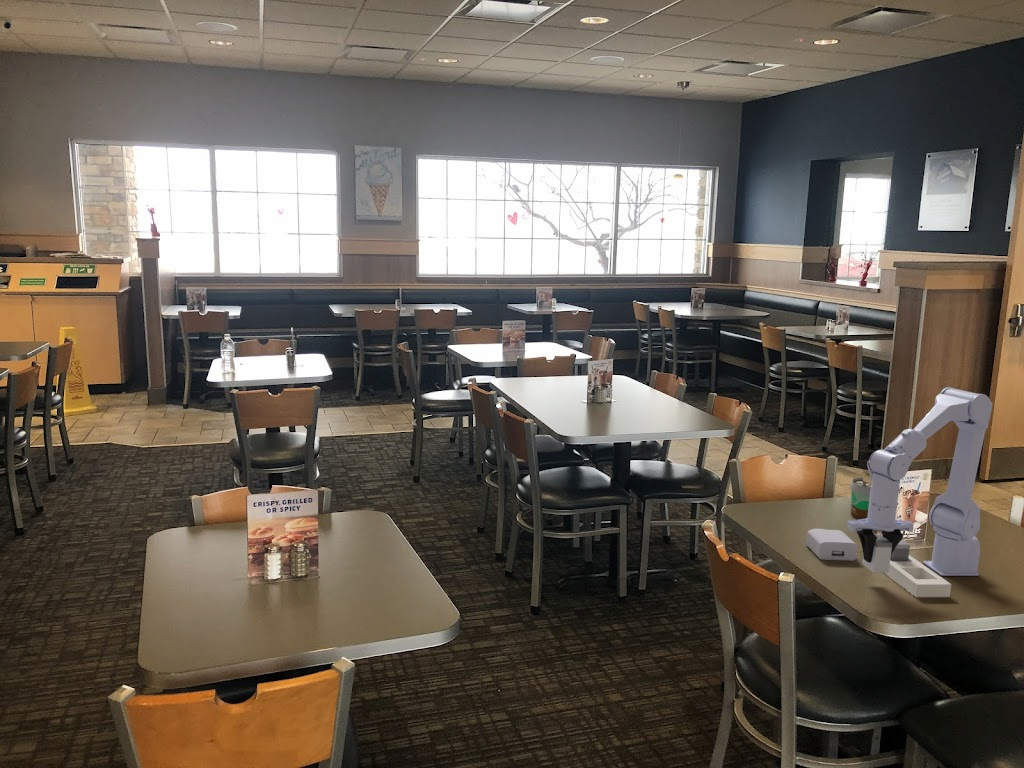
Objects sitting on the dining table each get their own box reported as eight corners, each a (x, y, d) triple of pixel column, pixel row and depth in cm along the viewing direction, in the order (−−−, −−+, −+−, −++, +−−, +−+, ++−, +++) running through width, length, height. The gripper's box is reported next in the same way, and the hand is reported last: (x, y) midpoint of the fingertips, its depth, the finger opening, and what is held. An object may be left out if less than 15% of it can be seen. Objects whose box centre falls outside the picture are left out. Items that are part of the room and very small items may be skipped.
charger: (832, 538, 217) (855, 561, 203) (797, 537, 217) (818, 560, 203) (834, 521, 217) (858, 543, 202) (799, 520, 216) (820, 541, 202)
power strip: (896, 558, 205) (897, 543, 204) (949, 597, 184) (951, 581, 183) (865, 558, 204) (866, 543, 204) (915, 597, 183) (917, 581, 182)
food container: (838, 509, 241) (841, 476, 239) (858, 509, 241) (862, 476, 240) (860, 524, 229) (864, 489, 227) (881, 524, 229) (885, 489, 227)
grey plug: (877, 563, 191) (880, 534, 190) (888, 572, 186) (892, 543, 185) (862, 563, 191) (865, 534, 189) (873, 572, 186) (876, 543, 185)
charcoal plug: (895, 564, 201) (898, 536, 200) (906, 572, 197) (910, 544, 195) (880, 564, 201) (884, 536, 200) (892, 572, 196) (895, 544, 195)
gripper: (860, 509, 181) (854, 567, 184) (924, 509, 182) (916, 567, 185) (845, 499, 188) (839, 555, 190) (906, 499, 189) (899, 555, 192)
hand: (876, 560), depth 188 cm, fingers closed on grey plug, 4 cm apart
